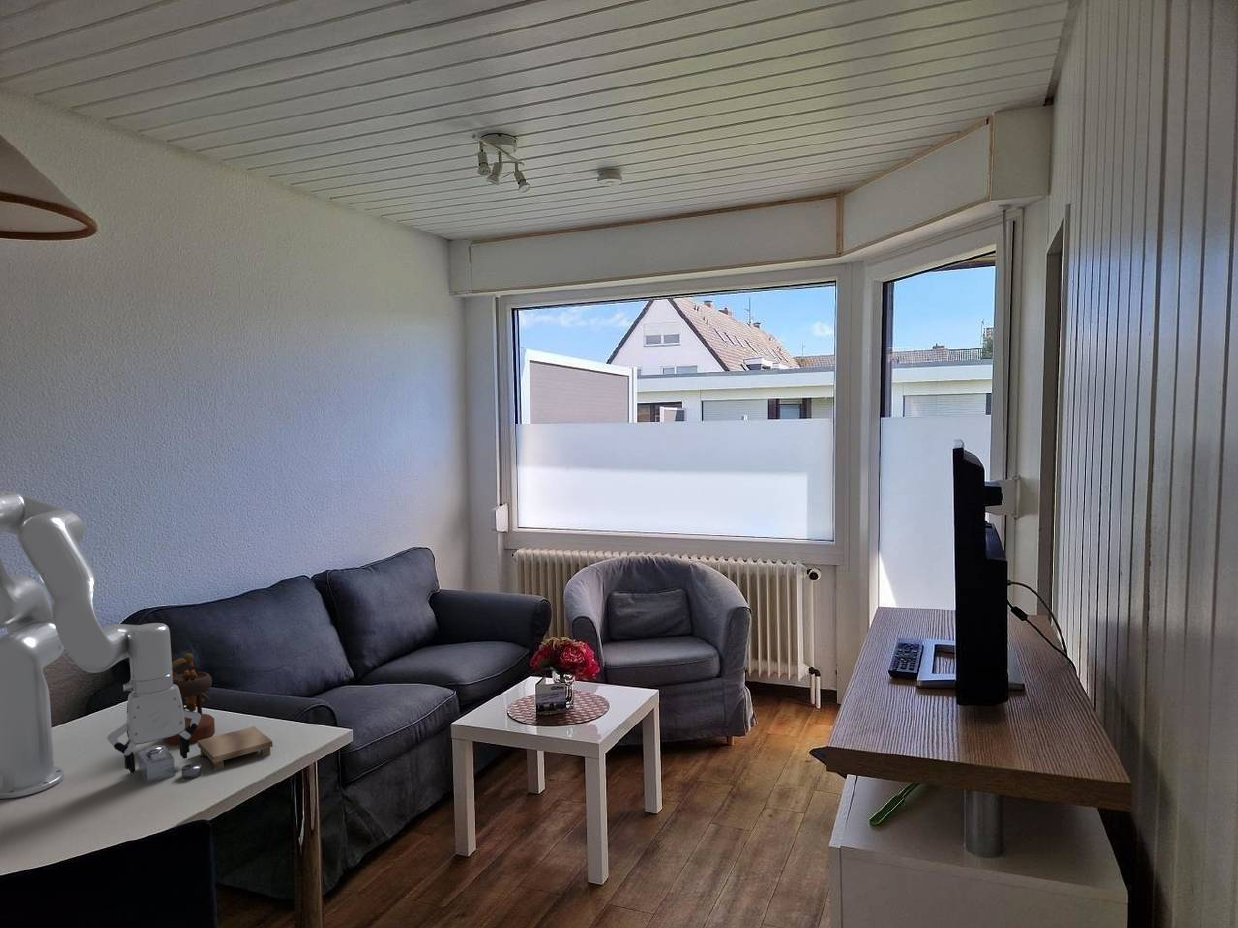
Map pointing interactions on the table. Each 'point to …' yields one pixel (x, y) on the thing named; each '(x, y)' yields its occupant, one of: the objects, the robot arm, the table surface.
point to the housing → (156, 763)
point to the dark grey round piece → (191, 771)
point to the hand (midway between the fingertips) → (158, 763)
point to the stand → (234, 745)
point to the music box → (192, 698)
